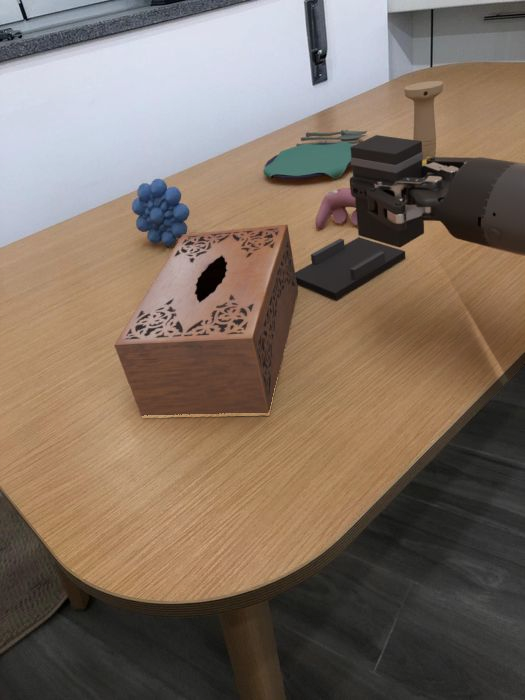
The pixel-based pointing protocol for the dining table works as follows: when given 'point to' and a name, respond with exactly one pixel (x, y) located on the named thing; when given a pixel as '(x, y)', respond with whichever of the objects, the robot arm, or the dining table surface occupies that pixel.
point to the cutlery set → (314, 157)
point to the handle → (424, 114)
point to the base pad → (346, 266)
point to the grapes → (160, 212)
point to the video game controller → (336, 208)
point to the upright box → (387, 165)
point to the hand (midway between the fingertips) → (367, 178)
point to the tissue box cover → (213, 324)
